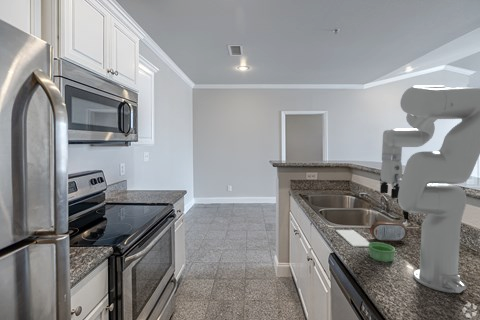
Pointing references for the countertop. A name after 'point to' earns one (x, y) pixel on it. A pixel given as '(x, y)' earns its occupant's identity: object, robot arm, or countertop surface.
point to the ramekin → (381, 251)
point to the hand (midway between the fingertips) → (389, 195)
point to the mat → (353, 238)
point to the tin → (388, 231)
